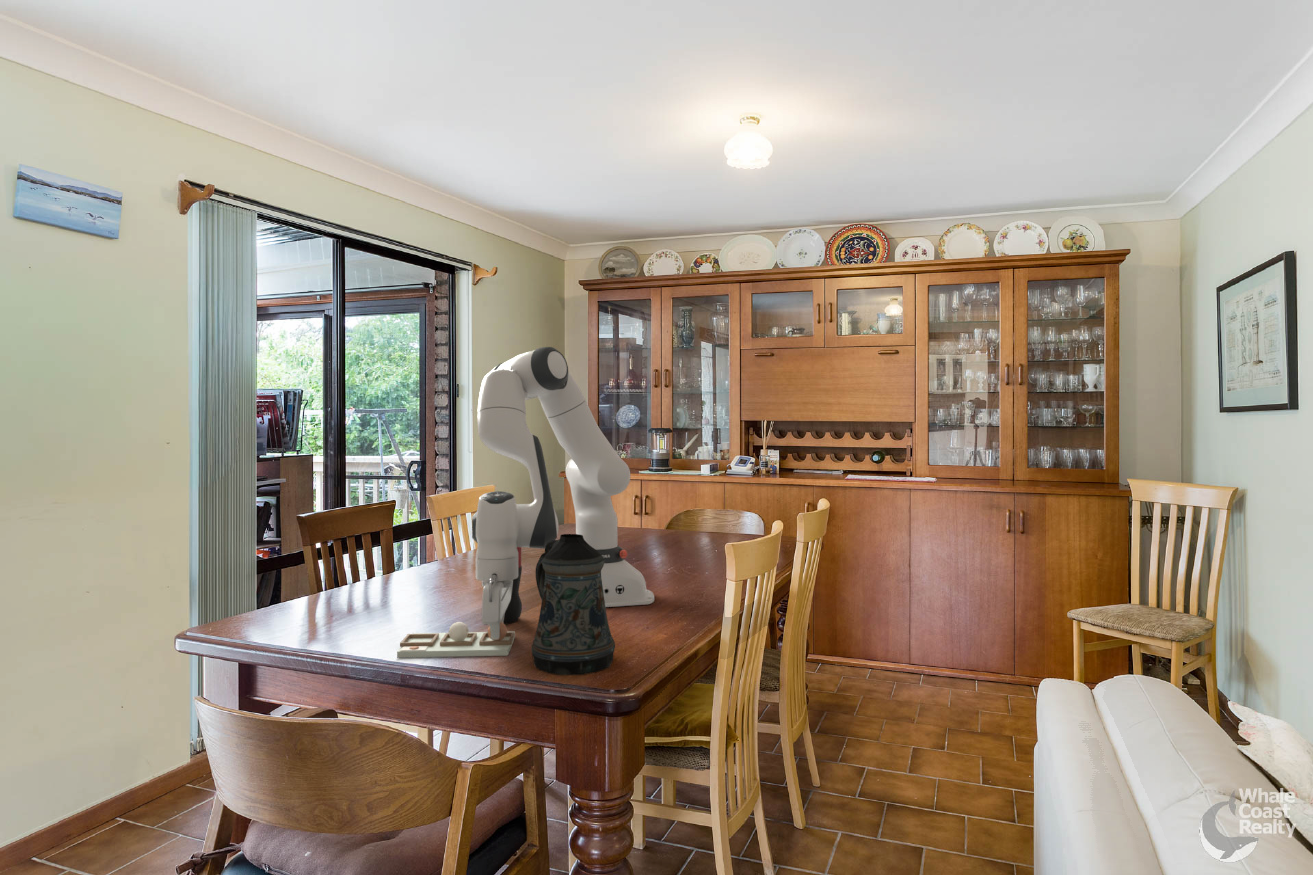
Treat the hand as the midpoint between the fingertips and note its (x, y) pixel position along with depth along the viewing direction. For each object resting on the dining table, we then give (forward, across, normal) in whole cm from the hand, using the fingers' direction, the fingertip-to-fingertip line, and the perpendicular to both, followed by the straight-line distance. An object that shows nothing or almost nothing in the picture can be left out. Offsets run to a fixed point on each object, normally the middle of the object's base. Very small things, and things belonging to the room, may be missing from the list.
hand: (497, 634), depth 160 cm
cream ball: (-1, 0, +8) cm, 8 cm away
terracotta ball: (-1, 0, 0) cm, 1 cm away
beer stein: (+3, -11, -15) cm, 19 cm away
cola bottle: (+3, +20, +1) cm, 20 cm away
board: (+2, 0, +8) cm, 8 cm away
